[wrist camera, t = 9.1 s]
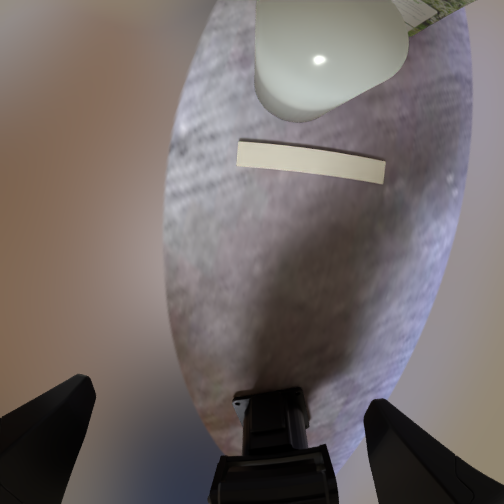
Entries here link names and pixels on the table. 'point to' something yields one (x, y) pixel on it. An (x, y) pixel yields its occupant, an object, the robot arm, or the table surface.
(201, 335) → the table surface
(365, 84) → the grey-green rounded cylinder
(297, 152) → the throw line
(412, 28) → the syrup box
